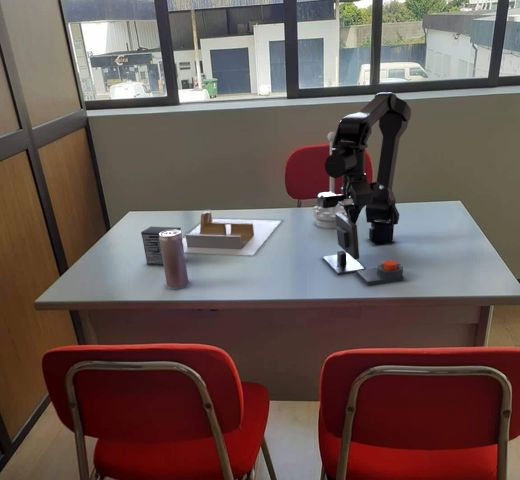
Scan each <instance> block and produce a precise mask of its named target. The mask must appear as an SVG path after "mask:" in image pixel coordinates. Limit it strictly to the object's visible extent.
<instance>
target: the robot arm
mask: <svg viewBox="0 0 520 480" xmlns="http://www.w3.org/2000/svg"><path fill="white" fill-rule="evenodd" d="M411 116H412V109H411V107H410V105H409V104H408V103H407V102H406V101H405V100H403V99H401V98H399V96H397V95H396V94H395V93H394V92H378V93H376V94H375V95H374V97H373V98H372V99H371V100H370V101H369V102H368V103H367V104H366V105H365V106H364V107H363V108H362V109H360V110H359V111H358V112H356V113H351V114H348V115H346V116H344V117H342V118H341V120H340V122H339V124H338V125H337V129H336V132H335V133H336V135H335V138H334V142H333V145H332V148H334V149H332V155H330V154H329V155H328V157H327V158H326V159H325V162H324V170H325V173H326V174H327V175H328V176H329V178H330V177H332V178H334V179H339V178H342V187H340V192H341V193H339V194H338V193H337V194H336V193H335V192H334V193H333V192H330V191H324V192H319V193H318V194H317V197H316V204H317V205H319V207H320V206H321V207H323V208H331V207H336V205H337V204H339V205H341V206H342V207H343V208H344V210H345V211H346V214H347V216H348V219H349V220H350V221H352V222H353V223H354V224H355V225H357V222H358V220H359V217H360V214H361V211H362V210H363V209H364V208H365V209H364V210H365V217H366V218H365V219H366V223H370V226H369V229H368V230H369V231H368V238H367V240H369V242H371V243H372V244H373V245H375V246H384V245H390V244H395V243H396V240H394V229H395V225H398V224H399V220H400V213H399V211H398V208H397V206H396V203H397V202H396V201H397V199H396V197H395V194H394V192H393V184H394V177H395V171H396V165H397V159H398V151H399V145H400V140H401V139H400V138H401V137H402V136H403V134H404V133H405V132H406V130H407V129H408V126H409V121H410V120H411V118H412V117H411ZM377 122H378V128H379V130H380V133H381V135H382V140H381V147H380V154H379V161H378V169H377V175H376V181H371V182H368V177H367V173H366V171H365V170H366V149H367V148H368V147H369V145H368V140H369V138H370V137H371V135H372V133H373V132H372V131H373V130H372V128H373V126H374V125H375V124H376V123H377Z"/></svg>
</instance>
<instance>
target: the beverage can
mask: <svg viewBox="0 0 520 480" xmlns="http://www.w3.org/2000/svg"><path fill="white" fill-rule="evenodd" d="M181 234H182V231H181V232H180V231H179V230H174V229H172V230H165V231H162V232H160V233H159V241H160V246H161V252H162V258H163V264H164V266H163V269H164V275H165V281H166V286H167V287H168V288H170V289H171V290H172V289H173V290H180V289H184V288H185V287H187V286H188V284H189V276H188V270H187V262H186V256H185V255H186V254H185V252H184V247H183V241H182V239H183V236H182V235H181Z"/></svg>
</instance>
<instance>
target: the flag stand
mask: <svg viewBox="0 0 520 480" xmlns="http://www.w3.org/2000/svg"><path fill="white" fill-rule="evenodd" d="M335 135H336V132H335V131H330V132H328V134H327V140H328V141H329V156H330V155H332V149H334V148H332V145H333V142H334V138H335ZM329 192H333V193H334V194H335V178H332V177H330V176H329ZM339 212H340V213H341V214H343V215H344V216H345V217H346V218H348V216H347V214H346V211H345V210H344V208H343V207H342V206H341V205H339V204H337V205H336V207H331V208H323V207H321V206H320V205H319V206H318V205H315V206H314V207H313V208H312V216H313V217H314V218H315V225H316V226H317V227H320V228H324V229H336V227H337V226H336V216H335V213H339Z"/></svg>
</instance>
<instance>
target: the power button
mask: <svg viewBox="0 0 520 480" xmlns="http://www.w3.org/2000/svg"><path fill="white" fill-rule="evenodd" d="M383 263H384V266H383V269H385V270H396V269H397V266H398V264H399V262H398V261H396V260H394V259H387V260H385V261H383Z"/></svg>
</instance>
